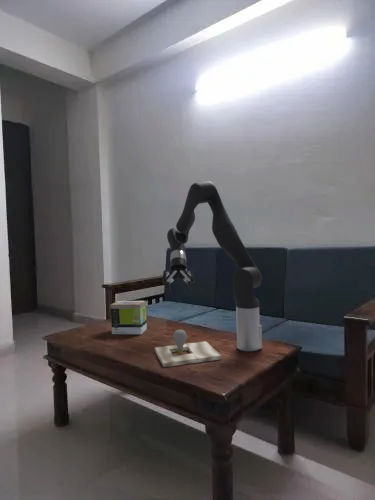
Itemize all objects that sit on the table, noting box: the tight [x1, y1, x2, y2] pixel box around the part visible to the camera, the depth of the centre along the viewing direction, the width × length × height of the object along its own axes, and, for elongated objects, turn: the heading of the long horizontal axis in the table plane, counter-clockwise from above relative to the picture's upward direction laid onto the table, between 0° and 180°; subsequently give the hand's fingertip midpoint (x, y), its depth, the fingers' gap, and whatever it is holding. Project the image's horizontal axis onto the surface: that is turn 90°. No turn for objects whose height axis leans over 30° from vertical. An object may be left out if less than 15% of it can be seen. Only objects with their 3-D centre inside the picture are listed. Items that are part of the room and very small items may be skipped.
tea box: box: [109, 300, 148, 335], centre depth 175 cm, size 15×10×15 cm, turn 80°
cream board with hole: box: [154, 341, 222, 368], centre depth 141 cm, size 22×18×2 cm
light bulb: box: [172, 329, 188, 355], centre depth 141 cm, size 5×5×10 cm
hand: (178, 290), depth 157 cm, fingers open, 8 cm apart
